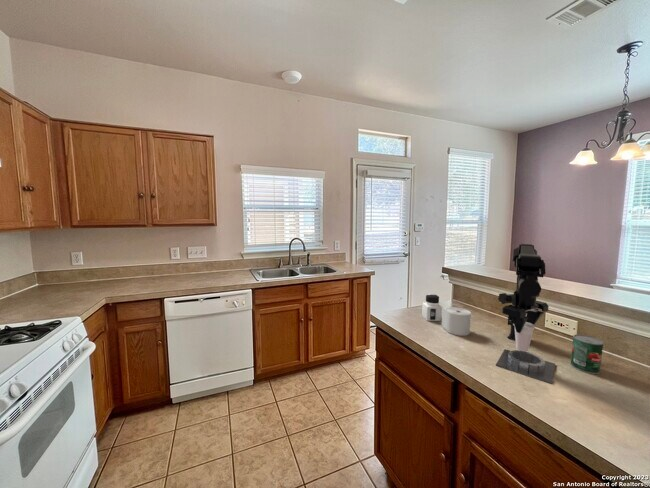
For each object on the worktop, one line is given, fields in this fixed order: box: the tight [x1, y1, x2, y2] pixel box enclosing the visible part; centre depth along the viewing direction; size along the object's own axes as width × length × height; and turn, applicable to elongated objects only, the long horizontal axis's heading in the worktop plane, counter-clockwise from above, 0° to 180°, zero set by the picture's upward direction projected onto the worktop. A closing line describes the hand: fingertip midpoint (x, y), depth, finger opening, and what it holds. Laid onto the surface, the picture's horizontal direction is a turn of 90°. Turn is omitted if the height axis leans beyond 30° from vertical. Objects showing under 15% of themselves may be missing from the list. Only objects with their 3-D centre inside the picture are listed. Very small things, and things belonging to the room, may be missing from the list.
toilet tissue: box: [441, 306, 472, 337], centre depth 130 cm, size 11×12×10 cm
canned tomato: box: [569, 334, 604, 375], centre depth 98 cm, size 8×8×11 cm
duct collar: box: [495, 348, 556, 385], centre depth 100 cm, size 16×16×3 cm
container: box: [421, 293, 443, 322], centre depth 146 cm, size 8×8×13 cm
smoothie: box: [513, 313, 536, 352], centre depth 100 cm, size 6×6×14 cm
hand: (523, 330), depth 100 cm, fingers closed on smoothie, 6 cm apart
